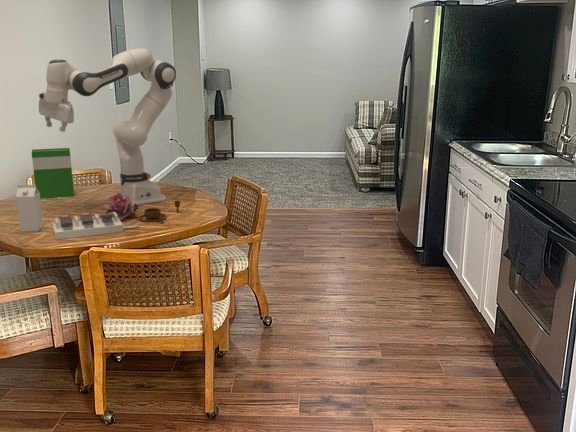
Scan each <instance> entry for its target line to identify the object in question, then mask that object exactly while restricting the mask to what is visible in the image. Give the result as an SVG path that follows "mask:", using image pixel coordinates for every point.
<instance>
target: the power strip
mask: <svg viewBox="0 0 576 432" xmlns="http://www.w3.org/2000/svg"><path fill="white" fill-rule="evenodd" d="M73 217H74V221H72V222H73V225H70V226H61V222H60V220H59V219H58V217H55V218H54V223H52V229H53V233H54V238H55V240H65V239H72V238H82V237H89V236H98V235H99V236H100V235H107V234H115V233H122V232H123V233H124V230H129V229H137V228H139V225H137V224H136V225H128V226H124V225H123V223H122V221H121V220H119V218H118V215H117V214H116V212H113V218H110V219H102V218H100V216H99V215H98V214H97V213H94V218H93V222H94V223H88V224H82V221H81V220H79V218H78V216H77V215H74V216H73Z"/></svg>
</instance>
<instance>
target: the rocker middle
mask: <svg viewBox="0 0 576 432" xmlns="http://www.w3.org/2000/svg"><path fill="white" fill-rule="evenodd" d="M79 217H80V221H82V224H88V223H94V222H93V219H94V218H93V215H92V212H82V213H80V214H79Z"/></svg>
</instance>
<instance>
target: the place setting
mask: <svg viewBox="0 0 576 432" xmlns="http://www.w3.org/2000/svg"><path fill="white" fill-rule="evenodd" d="M180 206H181V201H180V200H175V201H174V207H175V208H176V213H177V212H180V210H179V208H180ZM143 213H144V214H142V215H140V216H139V217H138V219H139V221H140V222H141V221H142V223H145V222H156V223H159V222H160V221H161V222H163V223H162V224H164V223H165V221H166V219H167V215H166V213H165V214H164V213H162V212H161V209H160V208H158V207H151V208H146V209H144V210H143ZM161 213H162V214H161ZM161 216H164V217H165V218H164V217H162V218H160V217H161ZM143 217H145V218H146V219H147V220H146V219H144V218H143ZM141 218H142V219H141ZM148 219H149V220H148ZM156 219H157V220H156ZM163 220H164V221H163Z"/></svg>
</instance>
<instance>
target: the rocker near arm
mask: <svg viewBox="0 0 576 432" xmlns="http://www.w3.org/2000/svg"><path fill="white" fill-rule="evenodd" d="M110 218H113V214H106V213H101V214H100V216H99V219H110Z"/></svg>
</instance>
